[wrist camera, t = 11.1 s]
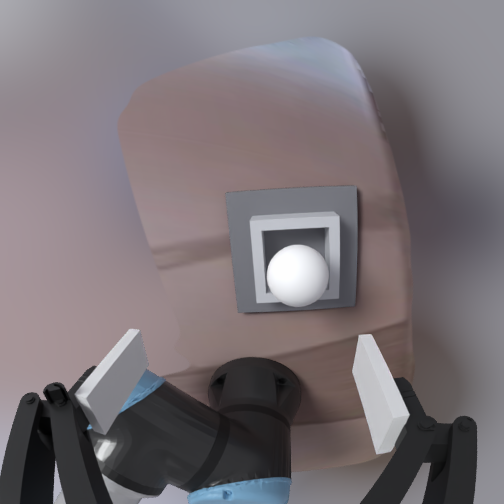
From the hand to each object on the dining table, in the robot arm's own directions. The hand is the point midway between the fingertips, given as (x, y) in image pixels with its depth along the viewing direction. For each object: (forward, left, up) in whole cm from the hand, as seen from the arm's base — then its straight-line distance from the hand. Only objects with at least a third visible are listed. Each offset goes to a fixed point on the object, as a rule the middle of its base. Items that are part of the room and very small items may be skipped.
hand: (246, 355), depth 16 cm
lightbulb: (0, -4, -21) cm, 21 cm away
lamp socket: (0, -4, -22) cm, 22 cm away
